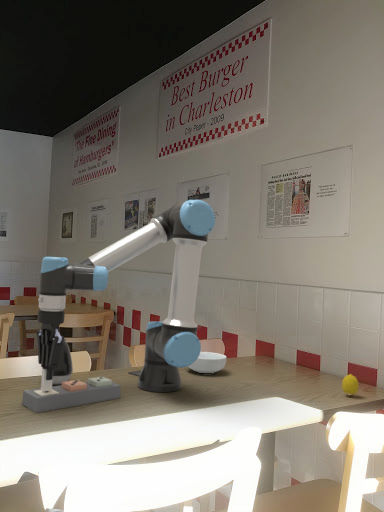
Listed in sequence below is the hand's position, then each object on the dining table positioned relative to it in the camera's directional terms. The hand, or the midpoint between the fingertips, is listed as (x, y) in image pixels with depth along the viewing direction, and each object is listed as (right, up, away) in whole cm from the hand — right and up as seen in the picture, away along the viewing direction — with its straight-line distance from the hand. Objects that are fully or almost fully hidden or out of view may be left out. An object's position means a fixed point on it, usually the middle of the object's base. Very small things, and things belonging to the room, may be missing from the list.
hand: (46, 390), depth 140 cm
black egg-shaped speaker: (-4, -5, +26) cm, 27 cm away
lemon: (+99, -11, +31) cm, 104 cm away
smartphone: (+25, -7, +50) cm, 56 cm away
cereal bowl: (+48, -9, +56) cm, 74 cm away
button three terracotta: (+7, -2, +6) cm, 9 cm away
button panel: (+6, -5, +6) cm, 10 cm away
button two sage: (+13, -3, +12) cm, 18 cm away
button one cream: (0, -3, 0) cm, 3 cm away
